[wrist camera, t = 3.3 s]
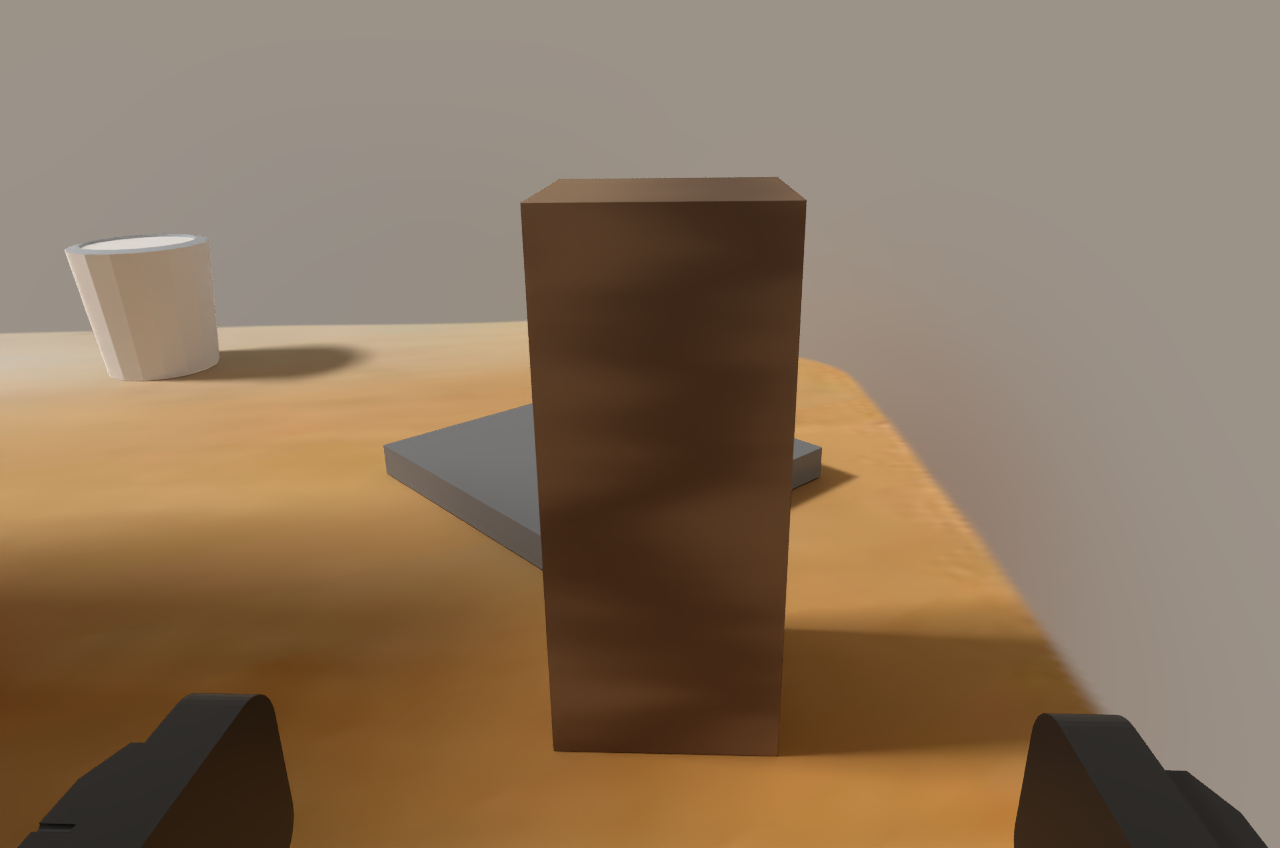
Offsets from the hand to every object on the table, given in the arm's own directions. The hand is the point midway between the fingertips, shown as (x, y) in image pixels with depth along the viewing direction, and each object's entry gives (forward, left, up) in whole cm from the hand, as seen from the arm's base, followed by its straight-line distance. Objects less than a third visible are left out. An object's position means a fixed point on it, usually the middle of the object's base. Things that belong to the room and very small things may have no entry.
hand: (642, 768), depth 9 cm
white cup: (-48, +7, -7) cm, 49 cm away
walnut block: (-8, +8, -7) cm, 13 cm away
